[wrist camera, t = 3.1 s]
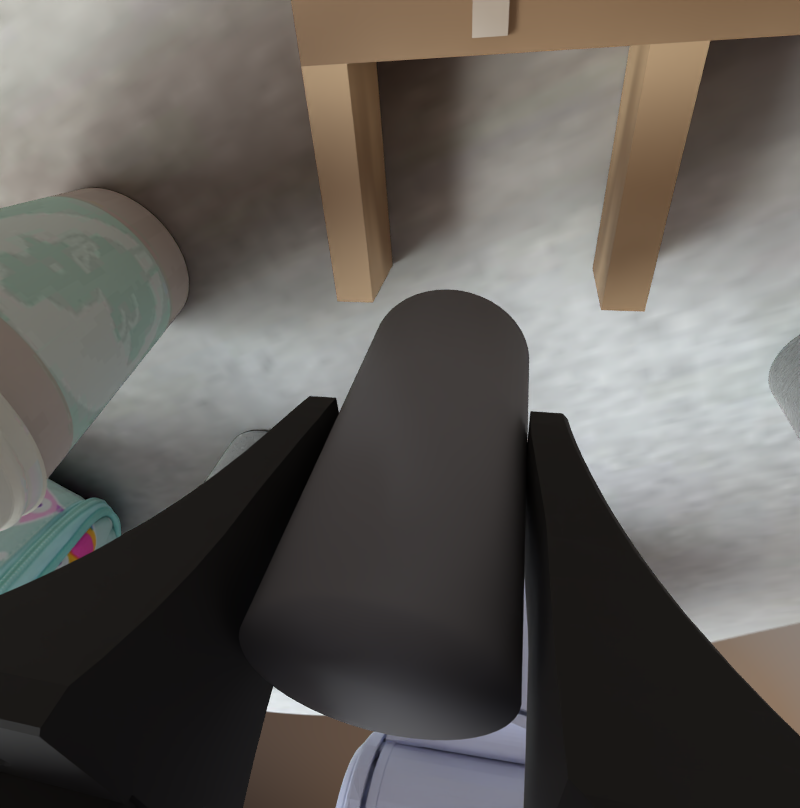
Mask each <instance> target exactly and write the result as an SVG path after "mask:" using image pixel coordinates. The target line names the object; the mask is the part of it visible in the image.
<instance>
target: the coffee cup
mask: <svg viewBox="0 0 800 808" xmlns="http://www.w3.org/2000/svg"><path fill="white" fill-rule="evenodd" d="M188 292H189V277H188V271H187V267H186V264H185V261H184V258H183V255H182V253H181V251H180V249H179V247H178V245H177V244H176V242H175V240H174V239H173V237H172V236H171V234H170V233H169V232H168V230H167V229H166V228H165V227H164V226H163V224H162V223H161V222H160V221H159V220H158V219H157V218H156V217H155V216H154V215H153V214H151V213H150V212H149V211H148V210H147V209H145V208H144V207H143V206H141V205H140V204H138V203H137V202H135V201H133V200H132V199H130V198H128V197H126V196H124V195H122V194H119V193H117V192H114V191H111V190H107V189H101V188H85V189H80V190H76V191H72V192H68V193H63V194H59V195H55V196H50V197H46V198H41V199H37V200H33V201H29V202H25V203H21V204H17V205H13V206H8V207H4V208H0V531H3V530H6V529H8V528H10V527H11V526H13V525H14V524H15V523H17V522H18V521H19V520H20V518H21V517H22V516H24V515H27V514H29V513H30V512H32V511H34V510H35V509H36V508H37V507H38V506H39V505H40V504H41V502H42V501H43V499H44V496H45V493H46V488H47V479H48V477H49V476H50V475H51V474H52V472H53V471H54V470H55V469H56V467H57V466H58V465H59V464H60V462H61V461H62V460H63V459H64V457H65V456H66V455H67V454H68V453H69V451H70V450H71V449H72V448H73V446H74V445H75V444H76V443H77V441H78V440H79V439H80V438H81V436H82V435H83V434H84V432H85V431H86V430H87V429H88V427H89V426H90V425H91V424H92V422H93V421H94V420H95V419H96V417H97V416H98V415H99V414H100V412H101V411H102V410H103V409H104V407H105V406H106V405H107V404H108V402H109V401H110V400H111V398H112V397H113V396H114V395H115V393H116V392H117V391H118V390H119V388H120V387H121V386H122V385H123V383H124V382H125V381H126V380H127V378H128V377H129V376H130V375H131V373H132V372H133V371H134V370H135V368H136V367H137V366H138V364H139V363H140V362H141V361H142V359H143V358H144V357H145V356H146V354H147V353H148V352H149V351H150V349H151V348H152V347H153V346H154V344H155V343H156V342H157V341H158V339H159V338H160V337H161V336H162V334H163V333H164V332H165V330H166V329H167V328H168V326H169V325H170V324H171V323H172V321H173V320H174V319H175V317H176V316H177V315H178V314H179V312H180V311H181V310H182V308H183V307H184V305H185V303H186V300H187V297H188Z"/></svg>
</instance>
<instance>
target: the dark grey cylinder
mask: <svg viewBox="0 0 800 808" xmlns="http://www.w3.org/2000/svg"><path fill="white" fill-rule="evenodd" d="M528 387H529V352H528V347H527V343H526V340H525V338H524V335H523V333H522V331H521V330H520V328H519V327H518V325H517V324H516V322H515V321H514V320H513V319H512V318H511V317H510V315H509V314H508V313H506V312H505V311H504V310H503V309H502V308H500V307H499V306H497V305H496V304H494V303H493V302H491V301H489V300H487V299H485V298H483V297H481V296H478V295H475V294H472V293H468V292H464V291H458V290H434V291H427V292H423V293H420V294H417V295H414V296H412V297H410V298H407V299H406V300H404V301H402V302H401V303H399V304H398V305H396V306H395V307H394V308H393V309H392V310H391V311H390V312H389V313H388V314H387V315H386V316H385V318H384V319H383V321H382V322H381V324H380V326H379V328H378V330H377V332H376V334H375V336H374V339H373V341H372V343H371V345H370V347H369V349H368V352H367V354H366V356H365V358H364V360H363V362H362V365H361V367H360V369H359V371H358V373H357V375H356V378H355V380H354V382H353V384H352V386H351V388H350V391H349V393H348V395H347V397H346V399H345V401H344V404H343V406H342V408H341V410H340V412H339V414H338V417H337V419H336V421H335V423H334V425H333V427H332V430H331V432H330V434H329V436H328V438H327V440H326V443H325V445H324V447H323V449H322V451H321V453H320V456H319V458H318V460H317V462H316V464H315V466H314V469H313V471H312V473H311V475H310V477H309V479H308V482H307V484H306V486H305V488H304V490H303V492H302V494H301V497H300V499H299V501H298V503H297V505H296V507H295V510H294V512H293V514H292V516H291V518H290V520H289V523H288V525H287V527H286V529H285V531H284V533H283V536H282V538H281V540H280V542H279V544H278V546H277V549H276V551H275V553H274V555H273V557H272V559H271V562H270V564H269V566H268V568H267V570H266V572H265V575H264V577H263V579H262V581H261V583H260V585H259V588H258V590H257V592H256V594H255V596H254V598H253V601H252V603H251V605H250V607H249V609H248V611H247V614H246V616H245V618H244V620H243V622H242V625H241V627H240V630H239V641H240V646H241V649H242V651H243V654H244V655H245V657H246V658H247V660H248V662H249V663H250V664H251V665H252V667H253V668H254V669H255V670H256V671H257V672H258V673H259V674H260V675H261V676H262V677H263V678H264V679H265V680H266V681H267V682H269V683H270V684H271V685H273V686H274V687H275V688H276V689H278V690H279V691H281V692H282V693H284V694H285V695H287V696H288V697H290V698H292V699H294V700H295V701H297V702H299V703H301V704H303V705H304V706H306V707H308V708H310V709H312V710H315V711H317V712H319V713H321V714H324V715H326V716H328V717H331V718H333V719H336V720H339V721H341V722H344V723H347V724H350V725H353V726H357V727H360V728H363V729H367V730H371V731H375V732H379V733H383V734H388V735H394V736H399V737H406V738H414V739H424V740H462V739H469V738H476V737H480V736H484V735H488V734H491V733H493V732H496V731H498V730H500V729H502V728H504V727H506V726H507V725H508V724H510V723H511V722H512V721H513V720H514V719H515V718H516V716H517V715H518V713H519V711H520V708H521V705H522V662H523V616H524V570H525V524H526V478H527V433H528Z"/></svg>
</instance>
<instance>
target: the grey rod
mask: <svg viewBox="0 0 800 808" xmlns="http://www.w3.org/2000/svg"><path fill="white" fill-rule="evenodd" d="M769 386H770V389H771V392H772V394H773V395H774V397H775V399H776V400H777V402H778V404H779V406H780V407H781V409H782V411H783V412H784V414H785V416H786V417H787V419H788V421H789V423H790V424H791V426H792V428H793V429H794V431H795V433H796V435H797V436H798V438H799V440H800V335H799V336H797V337H796V338H795V339H793V340H792V341H791V342H790V343H788V344H787V345H786V346H785V347H784V348H783V349H782V350H781V351H780V353H779V354H778V355H777V357H776V358H775V360H774V362H773V364H772V366H771V369H770V372H769Z"/></svg>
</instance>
